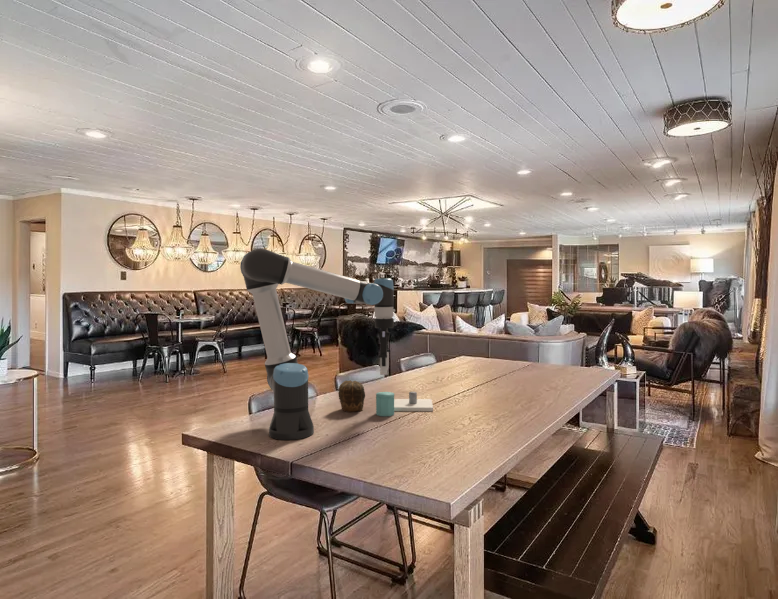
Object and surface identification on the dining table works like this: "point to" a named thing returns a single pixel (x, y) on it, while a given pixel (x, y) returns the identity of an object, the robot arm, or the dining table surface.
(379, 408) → the teal cylinder
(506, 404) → the dining table surface
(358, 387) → the brown domed block
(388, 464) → the dining table surface
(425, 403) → the post board
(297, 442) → the dining table surface
